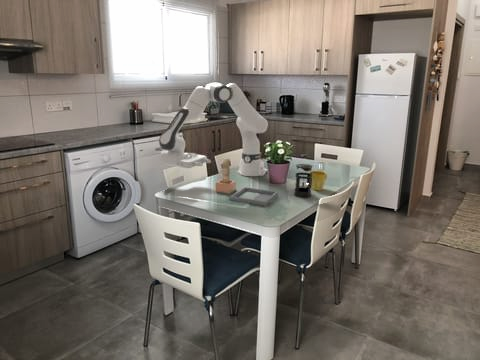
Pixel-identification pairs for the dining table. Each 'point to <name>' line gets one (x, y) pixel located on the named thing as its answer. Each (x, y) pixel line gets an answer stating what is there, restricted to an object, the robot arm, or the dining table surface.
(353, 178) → the dining table surface
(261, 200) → the charcoal tray
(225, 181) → the wooden block tower
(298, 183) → the french press
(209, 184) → the dining table surface
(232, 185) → the salmon square socket block
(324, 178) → the yellow cup
